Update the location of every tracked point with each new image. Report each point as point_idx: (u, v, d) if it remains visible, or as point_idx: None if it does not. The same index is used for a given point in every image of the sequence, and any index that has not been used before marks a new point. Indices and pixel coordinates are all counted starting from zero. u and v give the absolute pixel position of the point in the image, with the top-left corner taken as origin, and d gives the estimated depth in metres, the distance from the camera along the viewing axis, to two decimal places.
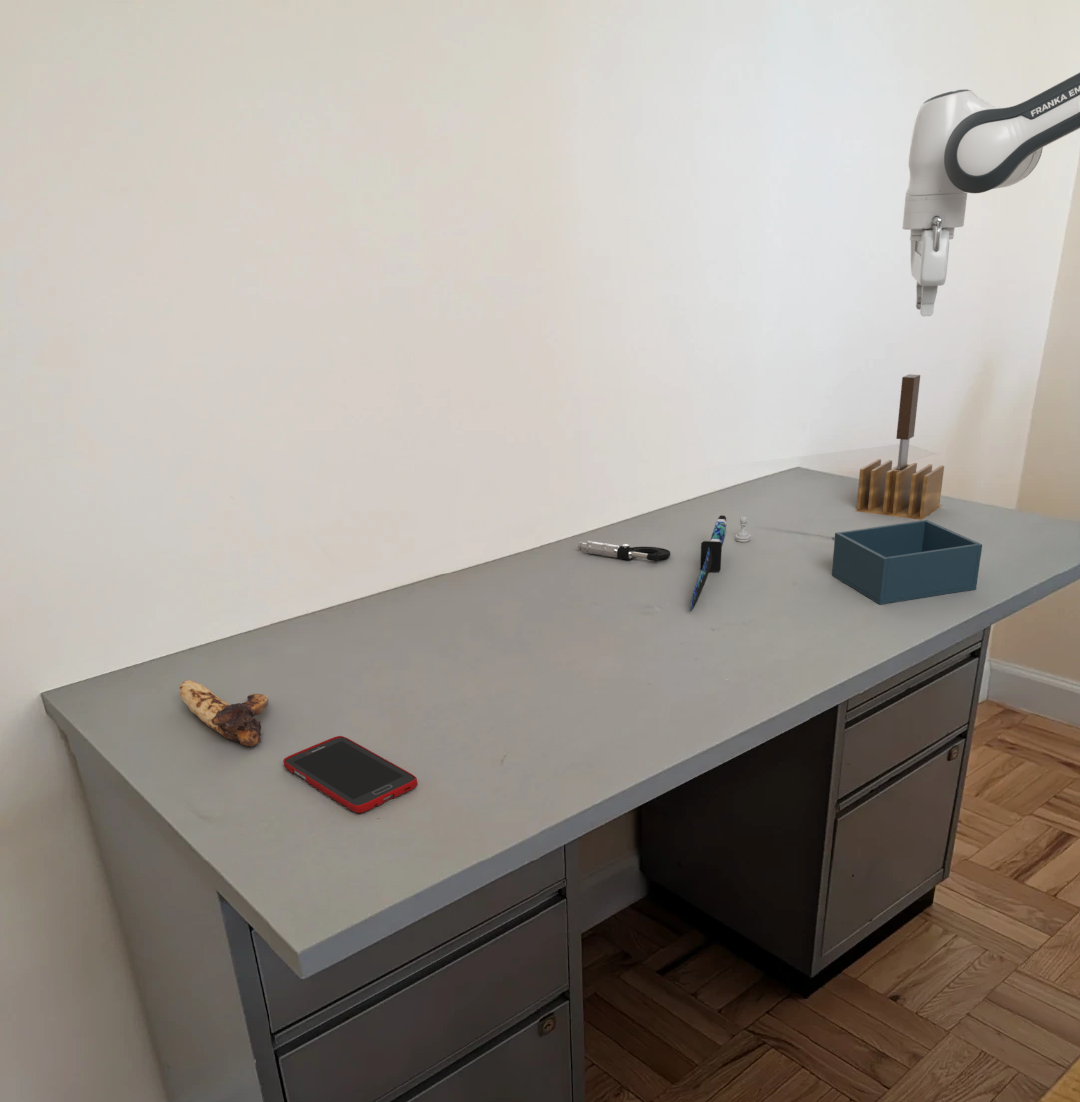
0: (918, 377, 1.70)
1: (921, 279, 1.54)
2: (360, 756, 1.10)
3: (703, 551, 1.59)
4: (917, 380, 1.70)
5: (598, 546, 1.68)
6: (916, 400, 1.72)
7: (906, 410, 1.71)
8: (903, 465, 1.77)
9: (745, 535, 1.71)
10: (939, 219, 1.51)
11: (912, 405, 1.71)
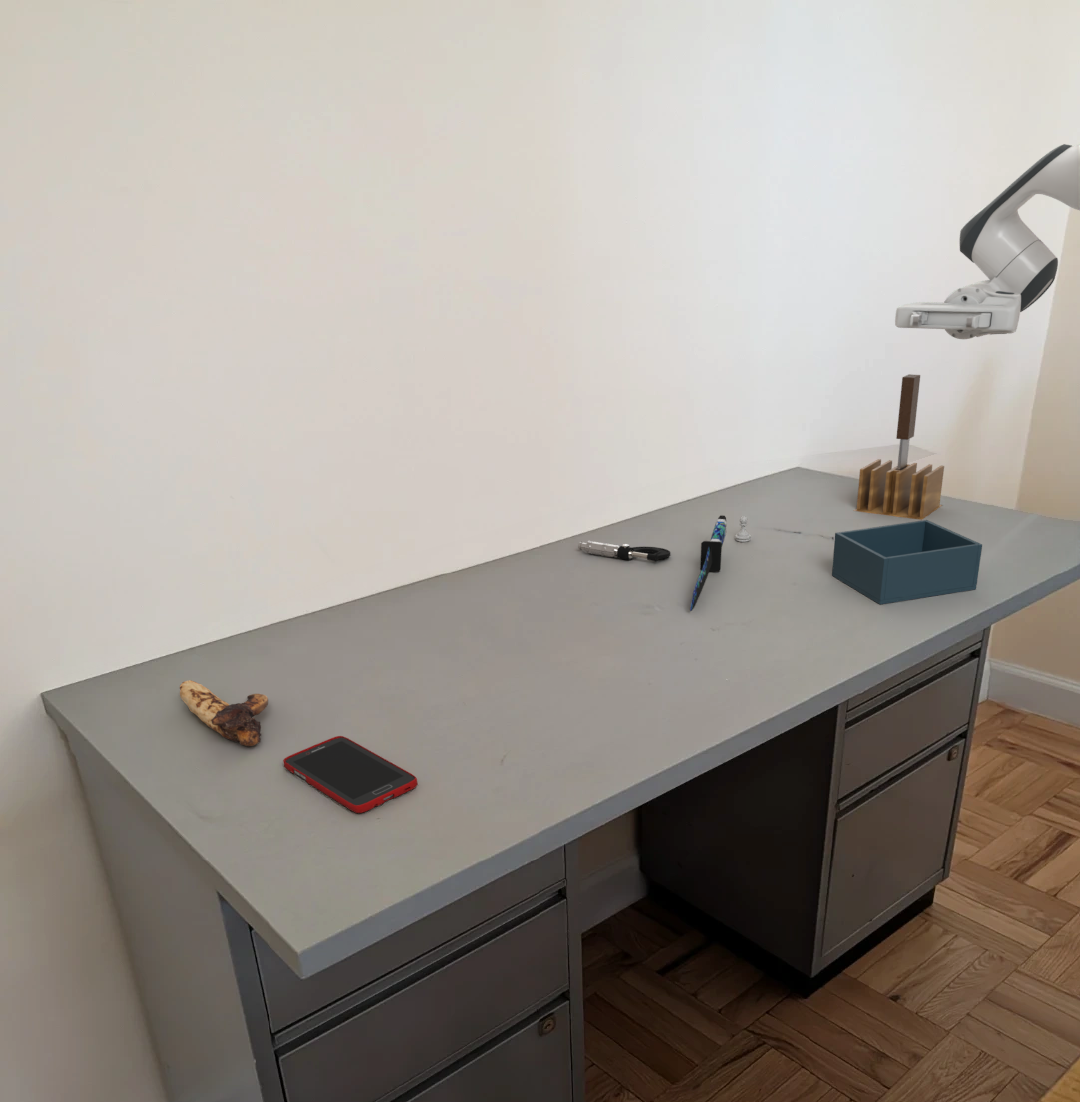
0: (918, 377, 1.70)
1: None
2: (360, 756, 1.10)
3: (703, 551, 1.59)
4: (917, 380, 1.70)
5: (598, 546, 1.68)
6: (916, 400, 1.72)
7: (906, 410, 1.71)
8: (903, 465, 1.77)
9: (745, 535, 1.71)
10: None
11: (912, 405, 1.71)
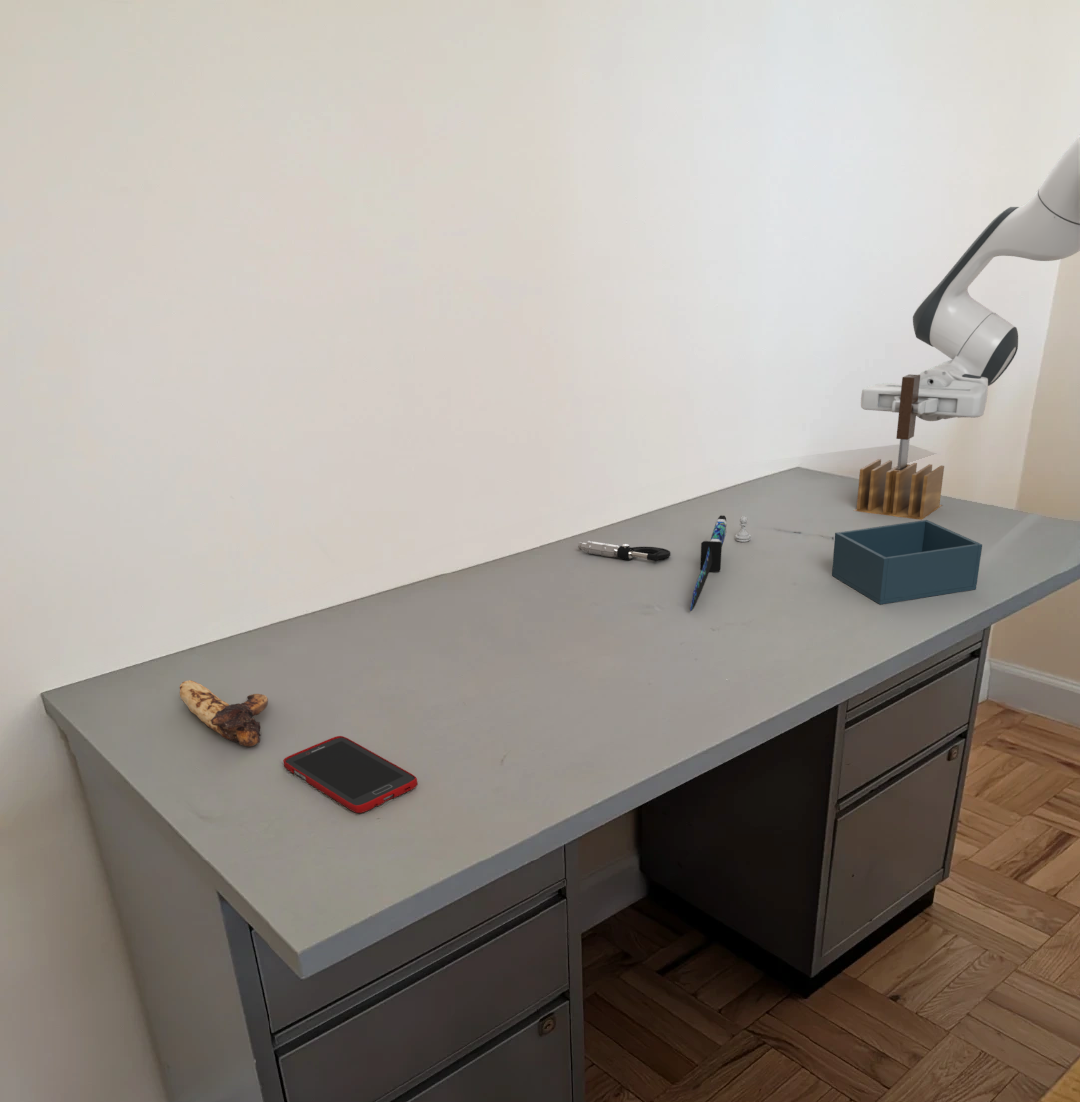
0: (918, 377, 1.70)
1: None
2: (360, 756, 1.10)
3: (703, 551, 1.59)
4: (917, 380, 1.70)
5: (598, 546, 1.68)
6: (916, 400, 1.72)
7: (906, 410, 1.71)
8: (903, 465, 1.77)
9: (745, 535, 1.71)
10: None
11: (912, 405, 1.71)
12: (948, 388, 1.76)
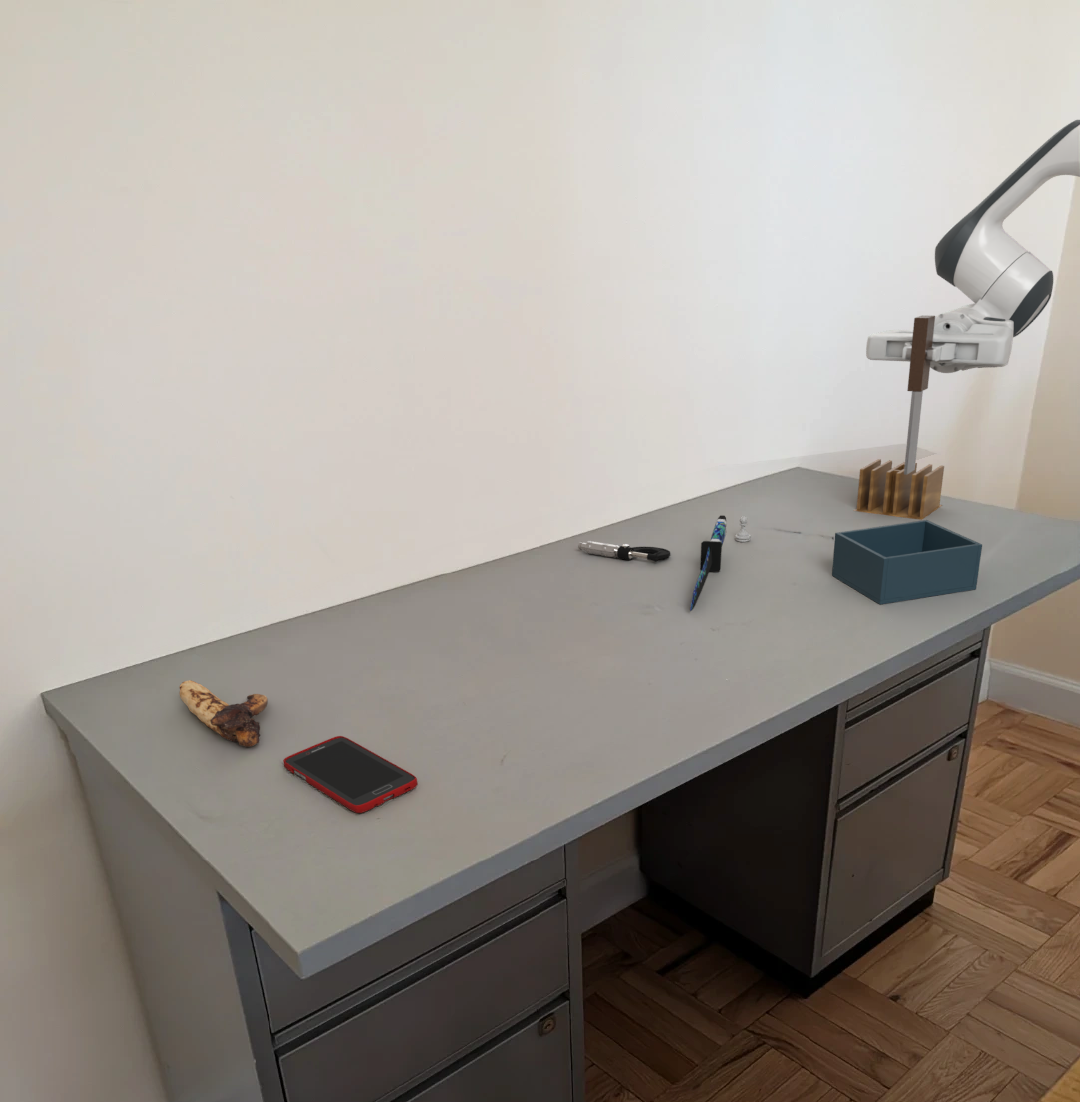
0: (933, 318, 1.46)
1: None
2: (360, 756, 1.10)
3: (703, 551, 1.59)
4: (931, 321, 1.46)
5: (598, 546, 1.68)
6: (930, 345, 1.48)
7: (918, 357, 1.48)
8: (915, 422, 1.53)
9: (745, 535, 1.71)
10: None
11: None
12: (967, 333, 1.52)
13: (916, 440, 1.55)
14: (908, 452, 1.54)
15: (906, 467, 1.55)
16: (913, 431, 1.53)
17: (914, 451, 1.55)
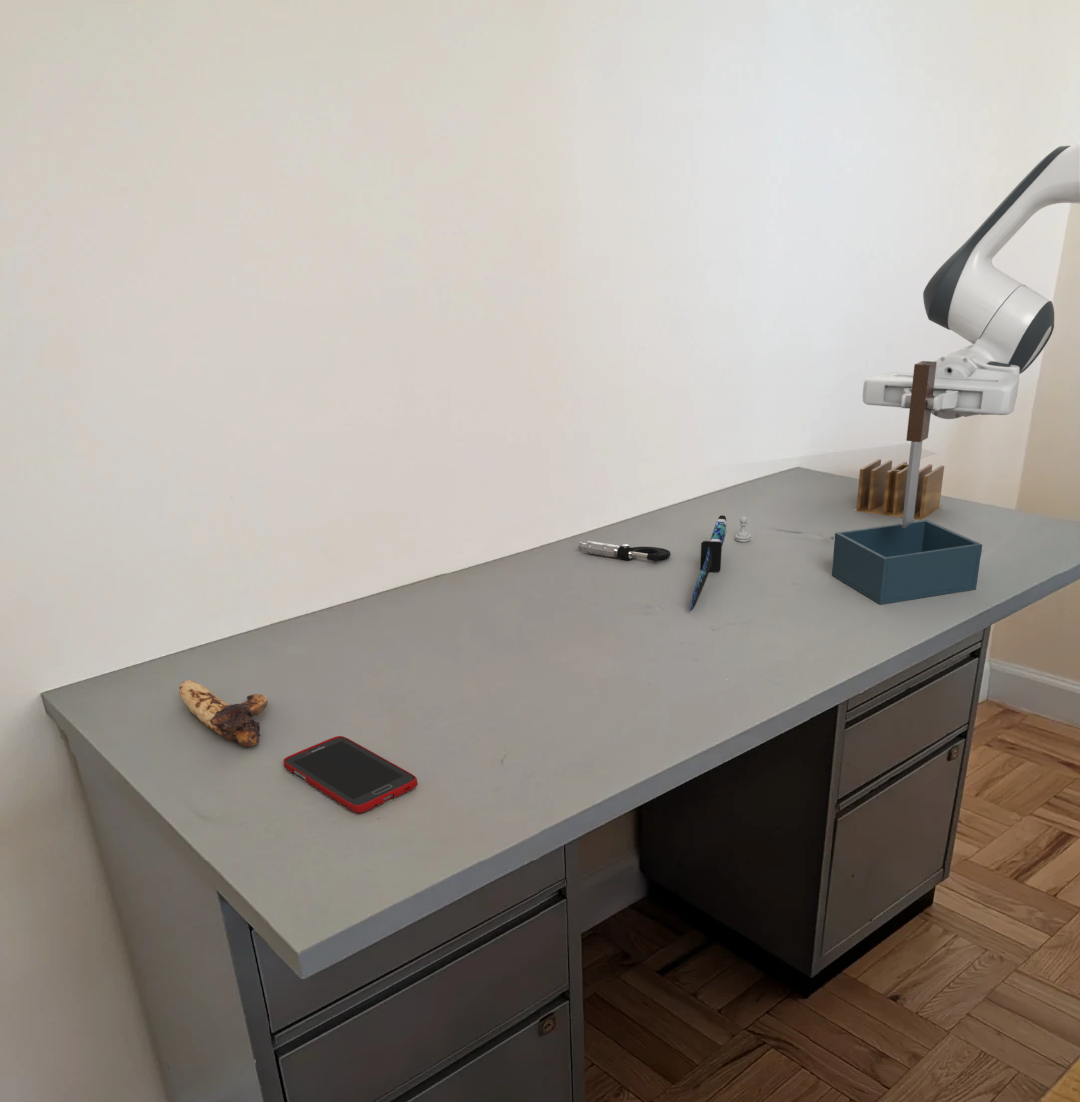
0: (934, 364, 1.37)
1: (864, 402, 1.49)
2: (360, 756, 1.10)
3: (703, 551, 1.59)
4: (932, 368, 1.37)
5: (598, 546, 1.68)
6: (931, 393, 1.39)
7: (918, 405, 1.38)
8: (914, 473, 1.43)
9: (745, 535, 1.71)
10: None
11: (926, 399, 1.38)
12: (970, 379, 1.43)
13: (915, 491, 1.46)
14: (906, 505, 1.44)
15: (904, 520, 1.45)
16: (912, 482, 1.44)
17: (913, 503, 1.46)
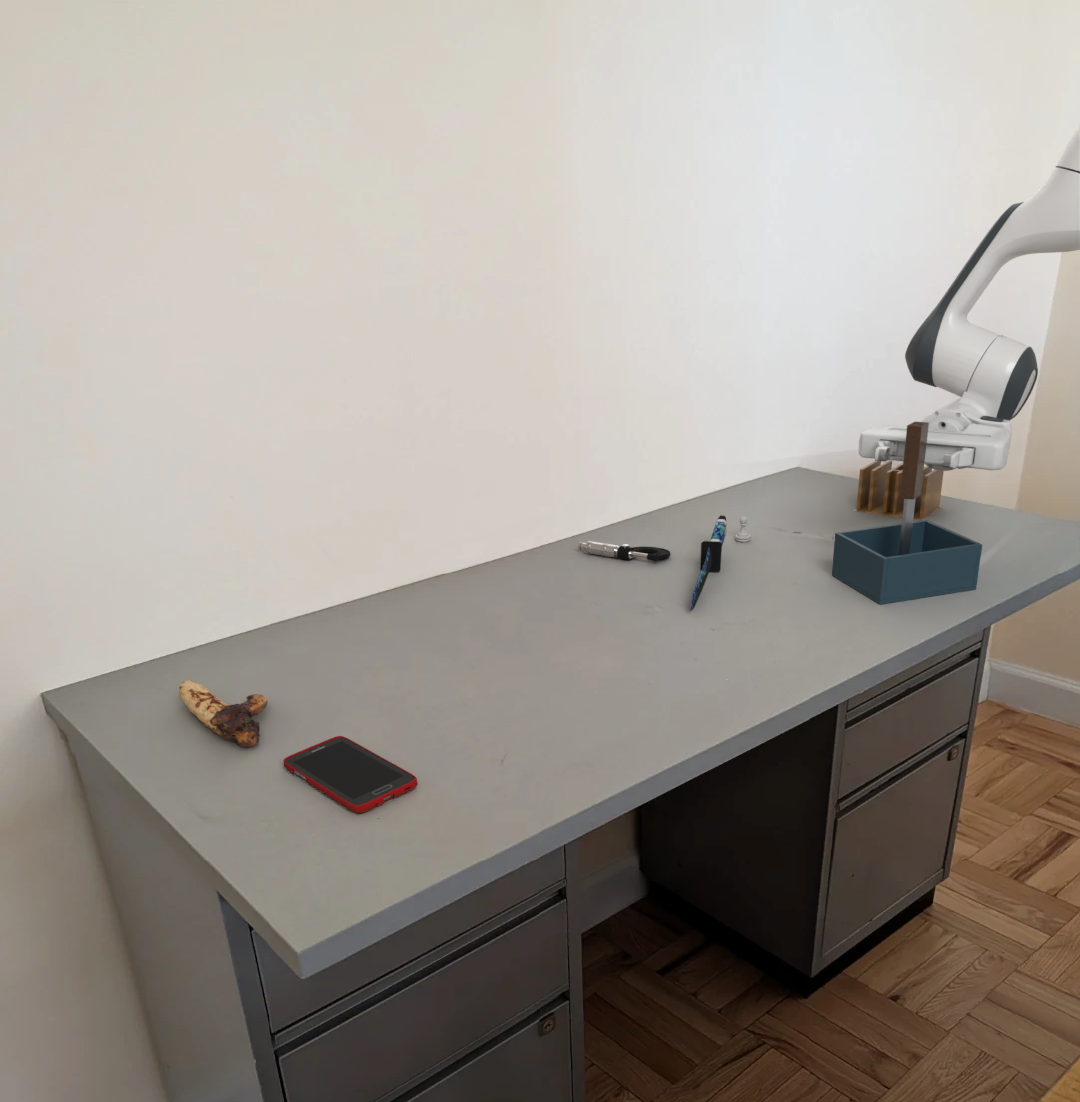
0: (926, 425, 1.41)
1: (860, 455, 1.52)
2: (360, 756, 1.10)
3: (703, 551, 1.59)
4: (925, 429, 1.40)
5: (598, 546, 1.68)
6: (924, 452, 1.42)
7: (911, 465, 1.42)
8: (908, 529, 1.47)
9: (745, 535, 1.71)
10: None
11: (919, 459, 1.42)
12: (963, 433, 1.46)
13: (909, 546, 1.49)
14: None
15: None
16: (905, 538, 1.47)
17: None
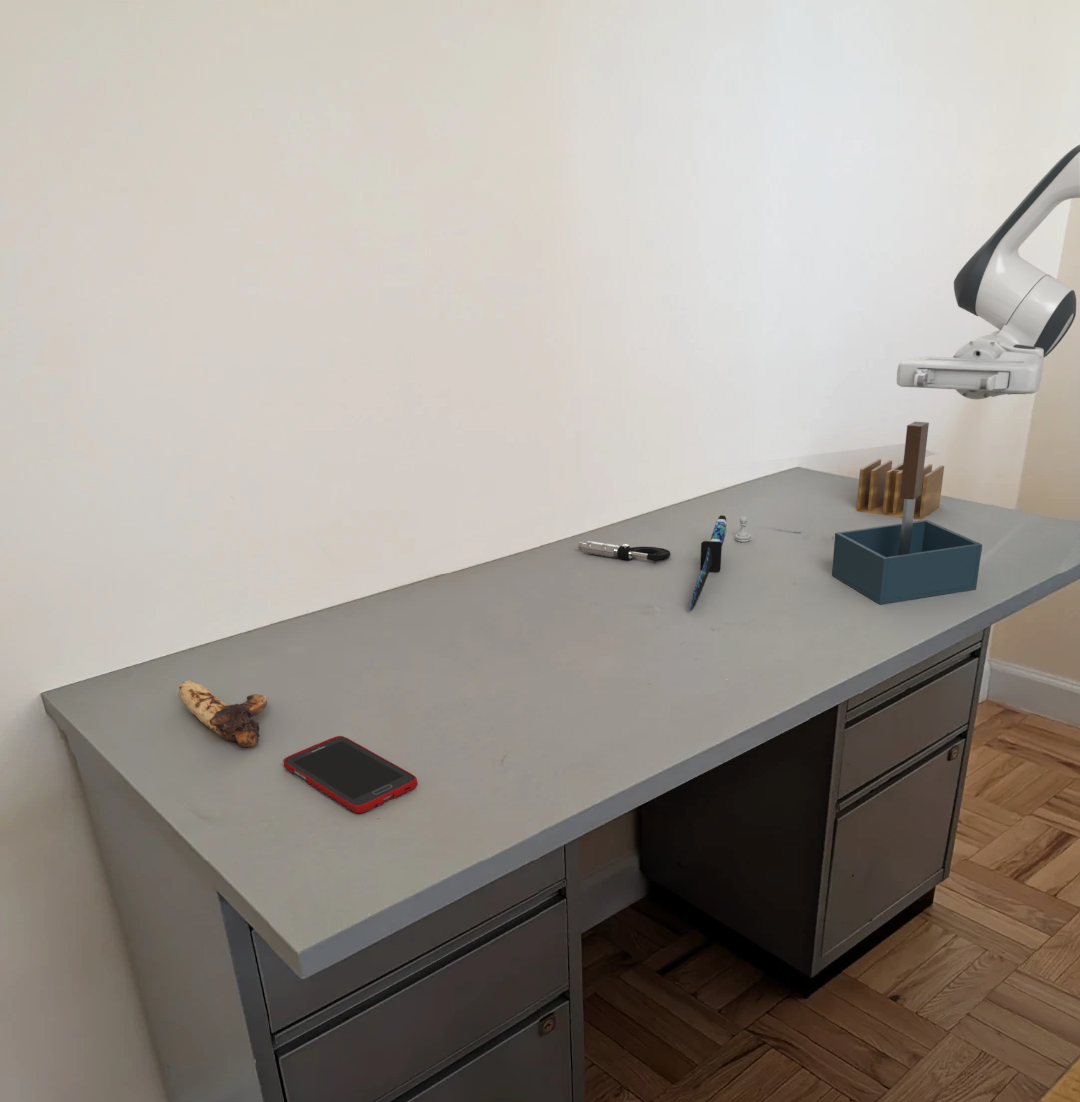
0: (926, 425, 1.41)
1: (898, 384, 1.60)
2: (360, 756, 1.10)
3: (703, 551, 1.59)
4: (925, 429, 1.40)
5: (598, 546, 1.68)
6: (924, 452, 1.42)
7: (911, 465, 1.42)
8: (908, 529, 1.47)
9: (745, 535, 1.71)
10: None
11: (919, 459, 1.42)
12: (998, 360, 1.54)
13: (909, 546, 1.49)
14: None
15: None
16: (905, 538, 1.47)
17: None
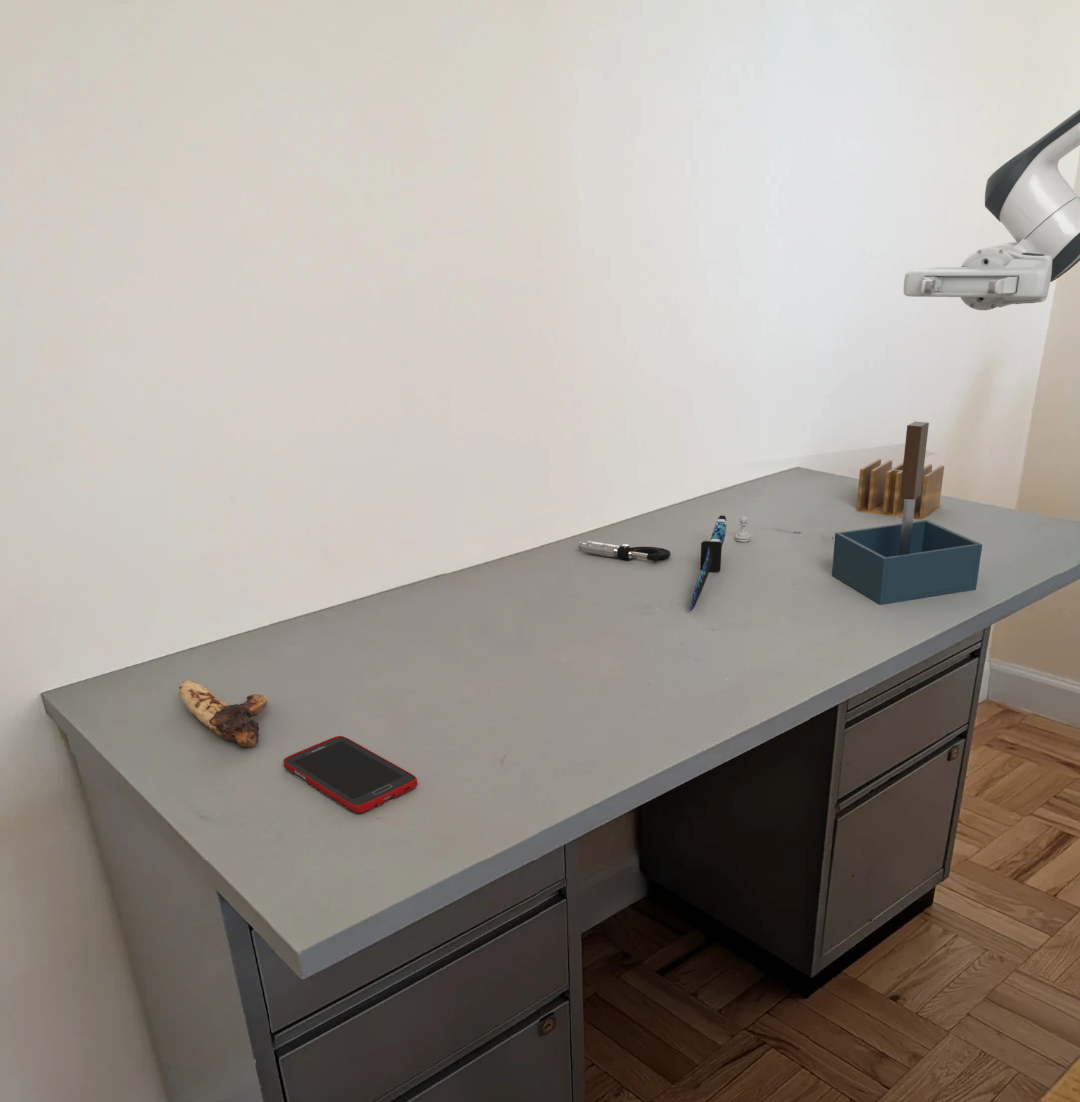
0: (926, 425, 1.41)
1: (905, 294, 1.58)
2: (360, 756, 1.10)
3: (703, 551, 1.59)
4: (925, 429, 1.40)
5: (598, 546, 1.68)
6: (924, 452, 1.42)
7: (911, 465, 1.42)
8: (908, 529, 1.47)
9: (745, 535, 1.71)
10: None
11: (919, 459, 1.42)
12: (1006, 268, 1.53)
13: (909, 546, 1.49)
14: None
15: None
16: (905, 538, 1.47)
17: None
